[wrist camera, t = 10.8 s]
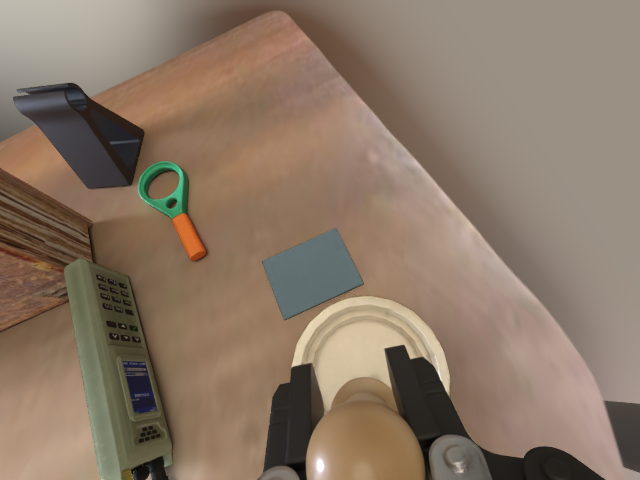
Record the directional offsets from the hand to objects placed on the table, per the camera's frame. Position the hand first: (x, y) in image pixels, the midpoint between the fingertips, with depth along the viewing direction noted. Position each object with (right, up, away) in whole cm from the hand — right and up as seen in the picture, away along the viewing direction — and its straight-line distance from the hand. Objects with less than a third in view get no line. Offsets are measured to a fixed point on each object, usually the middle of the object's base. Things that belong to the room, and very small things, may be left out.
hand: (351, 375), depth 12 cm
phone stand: (-29, +16, +34) cm, 47 cm away
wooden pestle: (+2, -5, +7) cm, 9 cm away
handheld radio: (-19, -10, +22) cm, 31 cm away
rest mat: (-2, +1, +24) cm, 24 cm away
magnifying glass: (-19, +8, +30) cm, 36 cm away
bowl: (+3, -8, +20) cm, 21 cm away
